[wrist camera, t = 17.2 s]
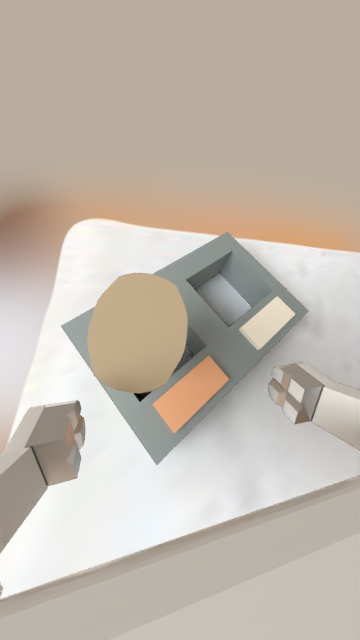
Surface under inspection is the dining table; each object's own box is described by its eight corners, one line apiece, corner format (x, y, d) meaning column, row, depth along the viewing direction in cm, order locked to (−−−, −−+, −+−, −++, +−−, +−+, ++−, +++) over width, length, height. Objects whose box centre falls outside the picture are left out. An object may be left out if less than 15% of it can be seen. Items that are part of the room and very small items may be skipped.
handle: (163, 348, 26) (191, 281, 12) (156, 403, 23) (181, 397, 9) (124, 342, 25) (106, 266, 11) (113, 398, 22) (71, 385, 9)
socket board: (215, 255, 33) (229, 228, 28) (283, 325, 30) (312, 308, 25) (75, 341, 24) (58, 323, 19) (153, 452, 21) (157, 467, 16)
